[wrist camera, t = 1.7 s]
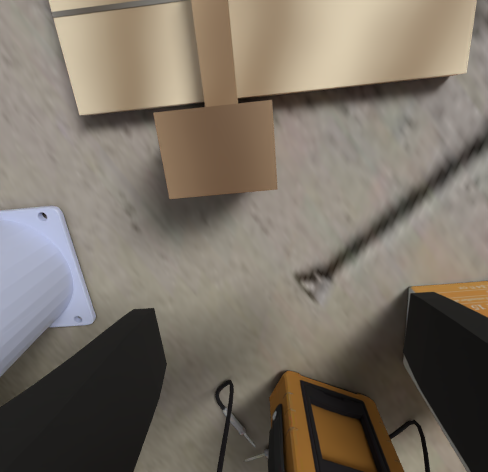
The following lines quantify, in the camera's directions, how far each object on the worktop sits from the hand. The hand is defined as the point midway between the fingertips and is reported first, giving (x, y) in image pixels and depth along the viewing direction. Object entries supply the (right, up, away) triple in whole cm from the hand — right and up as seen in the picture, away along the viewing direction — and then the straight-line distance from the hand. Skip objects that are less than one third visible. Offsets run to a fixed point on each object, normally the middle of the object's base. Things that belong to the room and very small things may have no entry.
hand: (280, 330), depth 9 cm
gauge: (-2, +10, +7) cm, 12 cm away
